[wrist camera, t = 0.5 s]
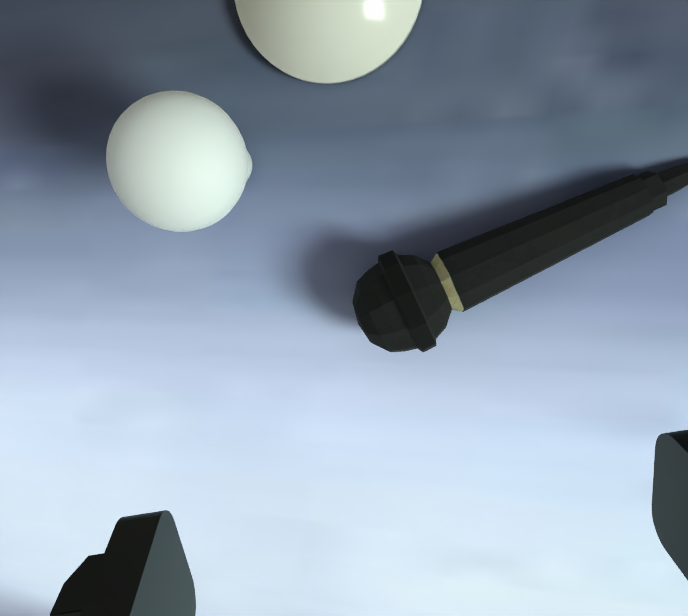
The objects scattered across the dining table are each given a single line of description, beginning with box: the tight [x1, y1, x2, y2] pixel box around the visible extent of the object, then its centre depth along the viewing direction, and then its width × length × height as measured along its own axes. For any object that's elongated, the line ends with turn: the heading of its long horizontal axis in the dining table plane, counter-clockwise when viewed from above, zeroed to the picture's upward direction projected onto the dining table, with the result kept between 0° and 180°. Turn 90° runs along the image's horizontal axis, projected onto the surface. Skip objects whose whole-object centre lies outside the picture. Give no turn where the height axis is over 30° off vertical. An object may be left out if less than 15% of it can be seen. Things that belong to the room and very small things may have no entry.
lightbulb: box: [106, 90, 252, 232], centre depth 30 cm, size 6×6×11 cm
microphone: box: [353, 163, 688, 352], centre depth 32 cm, size 6×6×20 cm
